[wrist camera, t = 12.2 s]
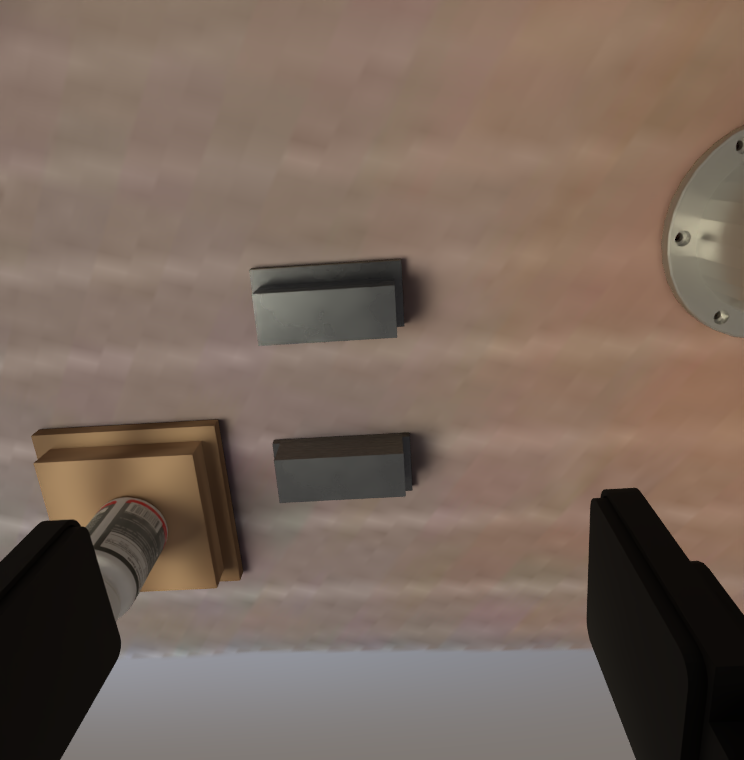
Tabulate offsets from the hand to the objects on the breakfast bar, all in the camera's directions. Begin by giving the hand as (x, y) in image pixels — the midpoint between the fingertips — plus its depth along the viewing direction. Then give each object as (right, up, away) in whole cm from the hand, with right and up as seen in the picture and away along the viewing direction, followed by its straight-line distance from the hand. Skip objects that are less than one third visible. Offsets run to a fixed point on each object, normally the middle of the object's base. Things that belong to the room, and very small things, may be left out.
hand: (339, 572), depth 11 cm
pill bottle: (-15, -6, +28) cm, 32 cm away
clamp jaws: (-2, +3, +28) cm, 28 cm away
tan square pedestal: (-15, -5, +31) cm, 35 cm away
